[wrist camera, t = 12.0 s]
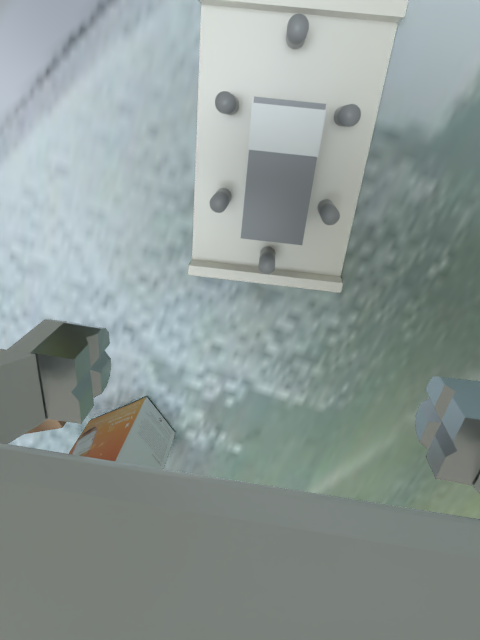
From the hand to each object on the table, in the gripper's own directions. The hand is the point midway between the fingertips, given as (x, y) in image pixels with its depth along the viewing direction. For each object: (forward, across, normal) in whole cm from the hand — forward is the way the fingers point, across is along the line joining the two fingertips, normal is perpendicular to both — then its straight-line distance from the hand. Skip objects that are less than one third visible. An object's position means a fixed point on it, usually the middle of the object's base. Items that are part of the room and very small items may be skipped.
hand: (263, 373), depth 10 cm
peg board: (+22, 0, -4) cm, 23 cm away
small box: (+23, +12, +25) cm, 36 cm away
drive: (+22, 0, -3) cm, 22 cm away
